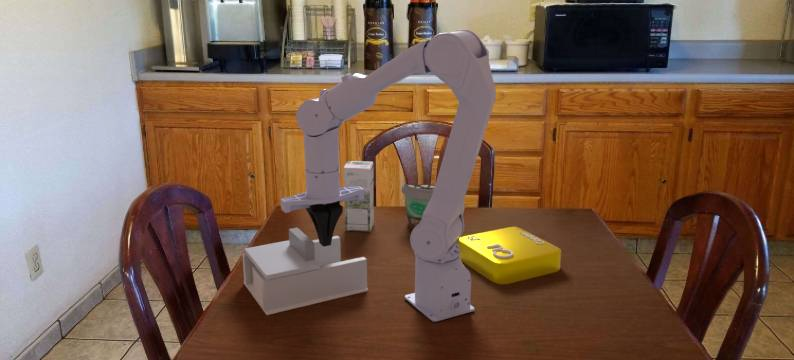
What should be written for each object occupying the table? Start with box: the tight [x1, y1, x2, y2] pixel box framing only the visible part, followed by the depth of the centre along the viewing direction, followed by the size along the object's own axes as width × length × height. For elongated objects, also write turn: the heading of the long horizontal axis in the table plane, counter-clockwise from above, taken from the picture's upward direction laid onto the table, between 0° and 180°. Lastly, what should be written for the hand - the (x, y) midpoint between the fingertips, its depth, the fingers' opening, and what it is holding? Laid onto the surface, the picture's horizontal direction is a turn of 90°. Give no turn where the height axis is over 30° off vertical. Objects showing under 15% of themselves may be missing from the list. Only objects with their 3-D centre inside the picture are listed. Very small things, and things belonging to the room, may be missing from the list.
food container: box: [400, 179, 435, 231], centre depth 136 cm, size 12×6×10 cm, turn 73°
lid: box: [244, 227, 320, 280], centre depth 107 cm, size 12×9×4 cm
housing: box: [241, 235, 369, 316], centre depth 110 cm, size 13×18×6 cm
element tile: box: [457, 226, 562, 285], centre depth 121 cm, size 15×15×5 cm
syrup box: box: [343, 160, 375, 233], centre depth 137 cm, size 6×6×14 cm
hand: (325, 244), depth 111 cm, fingers closed
